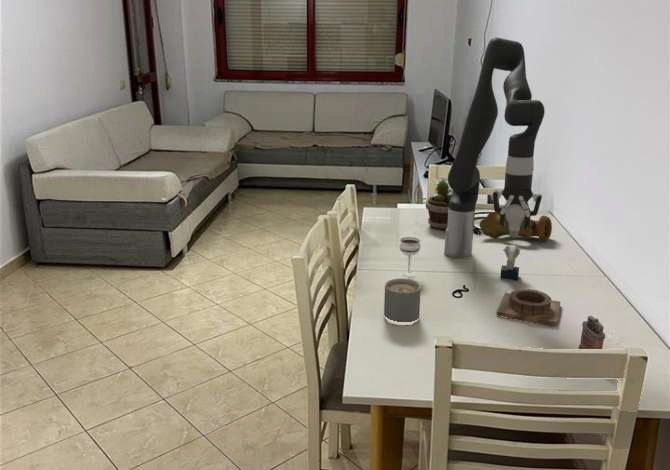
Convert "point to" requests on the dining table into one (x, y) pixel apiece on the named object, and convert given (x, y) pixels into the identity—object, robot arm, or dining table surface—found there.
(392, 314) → the coffee mug
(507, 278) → the watch
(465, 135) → the robot arm
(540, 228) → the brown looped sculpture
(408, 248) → the wineglass
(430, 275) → the dining table surface
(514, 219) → the lightbulb
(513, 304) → the lamp socket
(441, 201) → the flowerpot
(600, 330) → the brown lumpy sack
